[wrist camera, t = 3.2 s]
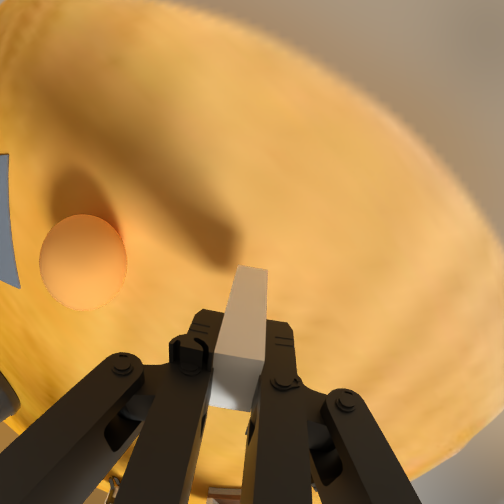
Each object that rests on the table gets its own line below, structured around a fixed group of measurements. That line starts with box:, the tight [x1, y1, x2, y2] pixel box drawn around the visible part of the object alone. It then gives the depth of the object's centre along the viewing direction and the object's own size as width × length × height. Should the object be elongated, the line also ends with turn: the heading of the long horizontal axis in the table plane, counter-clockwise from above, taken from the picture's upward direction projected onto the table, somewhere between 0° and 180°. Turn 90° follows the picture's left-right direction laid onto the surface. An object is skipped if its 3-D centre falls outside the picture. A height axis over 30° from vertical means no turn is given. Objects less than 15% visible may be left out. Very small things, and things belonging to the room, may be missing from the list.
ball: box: [39, 214, 127, 311], centre depth 14 cm, size 6×6×6 cm
